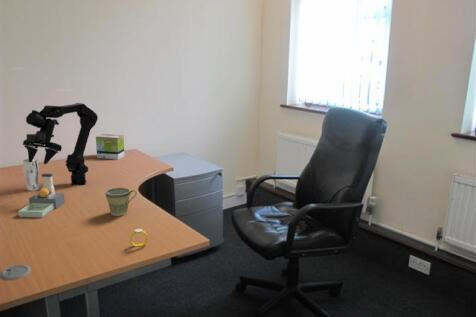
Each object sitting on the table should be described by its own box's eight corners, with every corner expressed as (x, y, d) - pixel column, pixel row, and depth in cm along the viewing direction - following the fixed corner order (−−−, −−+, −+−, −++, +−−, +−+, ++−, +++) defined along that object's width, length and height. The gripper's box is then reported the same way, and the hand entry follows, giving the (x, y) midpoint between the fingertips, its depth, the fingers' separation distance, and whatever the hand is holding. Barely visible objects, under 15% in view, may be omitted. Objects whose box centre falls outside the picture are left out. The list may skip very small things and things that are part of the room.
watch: (146, 243, 153) (147, 228, 152) (147, 246, 150) (148, 231, 149) (129, 244, 151) (130, 229, 150) (130, 248, 149) (130, 232, 147)
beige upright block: (45, 193, 192) (43, 173, 189) (54, 193, 191) (52, 173, 189) (42, 194, 189) (40, 174, 187) (52, 195, 189) (50, 175, 187)
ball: (50, 195, 189) (49, 187, 188) (48, 198, 185) (47, 189, 184) (40, 196, 188) (39, 187, 187) (38, 199, 184) (37, 190, 183)
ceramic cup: (109, 219, 174) (107, 196, 172) (104, 211, 183) (103, 189, 181) (140, 213, 180) (139, 191, 178) (134, 206, 189) (133, 185, 186)
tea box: (96, 158, 273) (94, 136, 270) (104, 155, 283) (102, 133, 280) (118, 159, 271) (117, 137, 267) (125, 156, 281) (123, 134, 277)
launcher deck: (39, 201, 194) (38, 190, 193) (64, 202, 193) (63, 190, 192) (30, 208, 186) (28, 195, 185) (56, 208, 185) (55, 196, 184)
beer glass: (35, 191, 208) (31, 162, 204) (22, 190, 209) (19, 161, 206) (44, 187, 215) (41, 158, 211) (32, 186, 216) (28, 158, 212)
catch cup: (32, 208, 186) (31, 202, 186) (54, 208, 186) (53, 203, 185) (18, 216, 176) (18, 211, 176) (42, 217, 176) (41, 211, 175)
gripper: (17, 124, 194) (8, 156, 191) (48, 127, 187) (38, 161, 184) (36, 131, 204) (27, 162, 201) (66, 134, 197) (57, 166, 194)
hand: (37, 163), depth 195 cm, fingers open, 9 cm apart
